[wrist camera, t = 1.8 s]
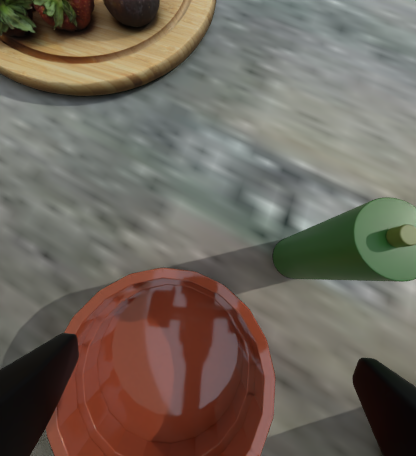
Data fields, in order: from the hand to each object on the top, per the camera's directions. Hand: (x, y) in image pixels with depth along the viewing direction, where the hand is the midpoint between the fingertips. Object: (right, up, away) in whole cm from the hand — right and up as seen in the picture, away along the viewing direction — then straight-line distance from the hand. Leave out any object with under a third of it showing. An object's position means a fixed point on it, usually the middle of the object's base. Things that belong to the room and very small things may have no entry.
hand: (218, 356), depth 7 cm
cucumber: (+8, +1, +16) cm, 18 cm away
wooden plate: (-15, +34, +22) cm, 44 cm away
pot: (-4, -8, +14) cm, 16 cm away
